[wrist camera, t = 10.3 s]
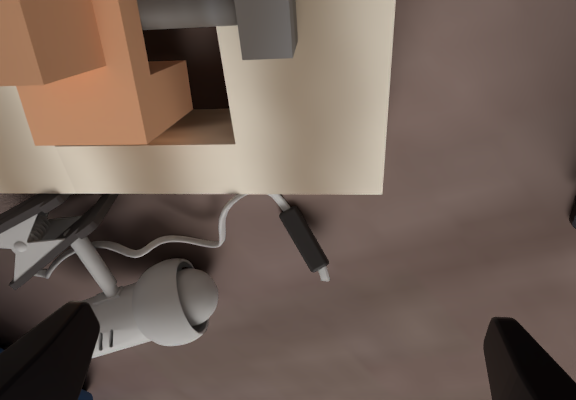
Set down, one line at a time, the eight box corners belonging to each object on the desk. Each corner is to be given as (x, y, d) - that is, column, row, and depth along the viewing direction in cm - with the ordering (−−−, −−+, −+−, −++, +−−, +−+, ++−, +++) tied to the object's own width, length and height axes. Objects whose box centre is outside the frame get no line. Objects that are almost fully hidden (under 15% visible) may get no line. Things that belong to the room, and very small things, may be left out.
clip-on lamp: (273, 94, 23) (-22, 198, 25) (280, 132, 17) (-104, 263, 19) (331, 261, 28) (86, 338, 30) (351, 331, 23) (48, 421, 24)
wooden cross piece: (158, -122, 15) (-6, -224, 8) (193, 109, 18) (100, 180, 11) (51, -112, 15) (-191, -198, 8) (104, 111, 19) (-36, 180, 12)
